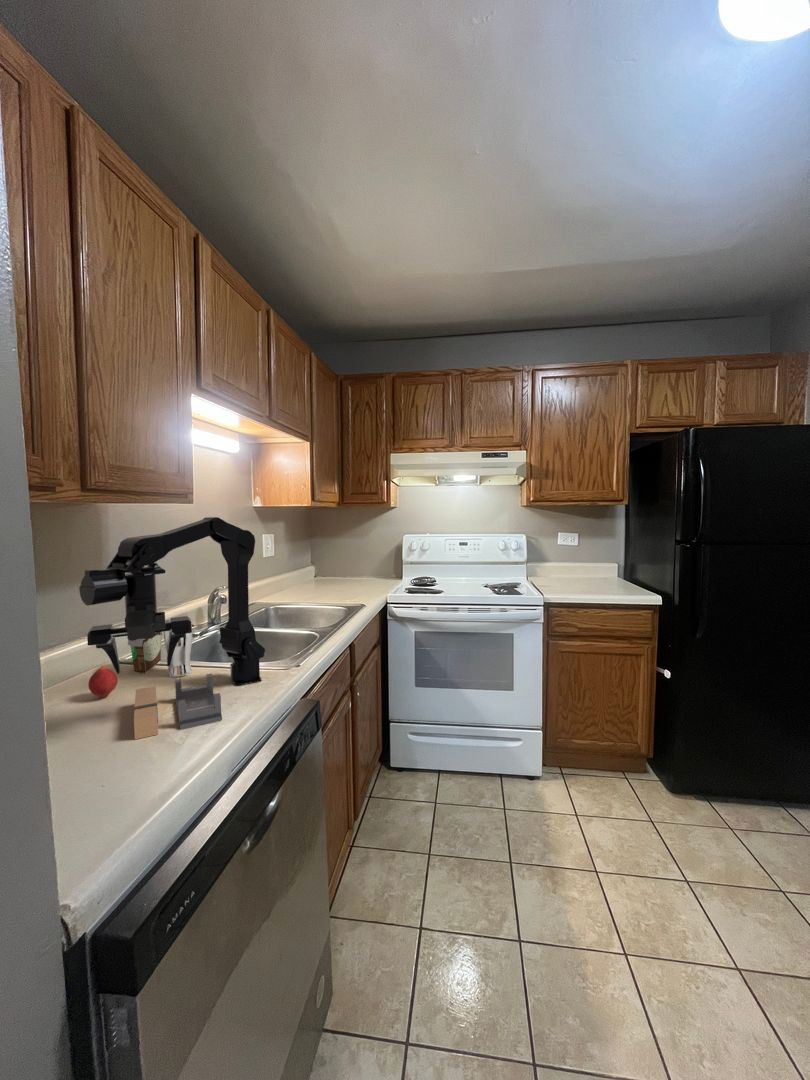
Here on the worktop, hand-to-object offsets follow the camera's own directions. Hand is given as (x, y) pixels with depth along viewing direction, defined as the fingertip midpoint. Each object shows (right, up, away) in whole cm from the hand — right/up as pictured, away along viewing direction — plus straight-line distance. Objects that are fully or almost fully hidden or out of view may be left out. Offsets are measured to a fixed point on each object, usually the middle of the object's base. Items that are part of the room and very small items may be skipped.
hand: (144, 669), depth 97 cm
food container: (-20, -9, +34) cm, 41 cm away
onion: (-17, -11, +13) cm, 24 cm away
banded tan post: (0, -11, +1) cm, 11 cm away
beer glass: (-7, -10, +29) cm, 32 cm away
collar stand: (+9, -11, +6) cm, 15 cm away
